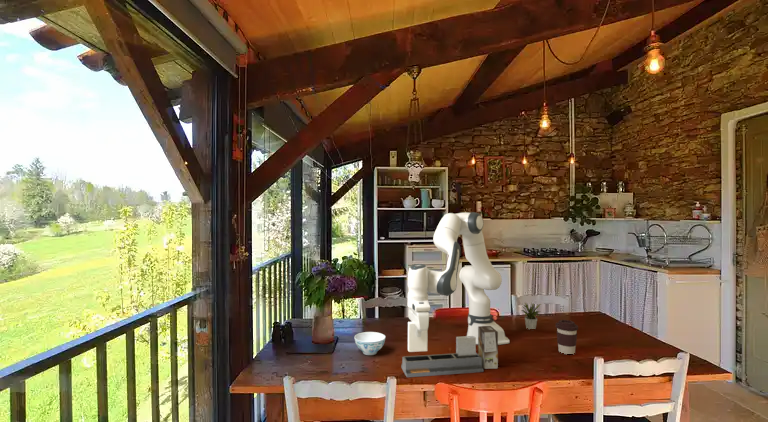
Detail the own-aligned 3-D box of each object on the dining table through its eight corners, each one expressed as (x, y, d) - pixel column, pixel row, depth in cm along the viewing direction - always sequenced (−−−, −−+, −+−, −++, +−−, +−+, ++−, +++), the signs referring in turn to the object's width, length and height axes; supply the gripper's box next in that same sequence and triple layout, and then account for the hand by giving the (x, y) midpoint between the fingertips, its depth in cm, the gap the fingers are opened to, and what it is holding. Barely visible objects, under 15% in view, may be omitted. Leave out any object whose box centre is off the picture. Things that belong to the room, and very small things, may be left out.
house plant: (513, 329, 222) (513, 301, 222) (518, 323, 233) (518, 297, 233) (539, 333, 214) (539, 304, 214) (543, 327, 226) (543, 299, 226)
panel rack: (473, 362, 171) (474, 332, 171) (483, 371, 161) (483, 340, 161) (401, 367, 165) (401, 336, 166) (406, 377, 156) (406, 344, 156)
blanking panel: (409, 352, 160) (409, 323, 160) (407, 349, 162) (407, 321, 162) (427, 351, 161) (427, 322, 161) (425, 348, 164) (425, 321, 164)
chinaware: (386, 358, 176) (386, 341, 176) (354, 359, 175) (354, 342, 175) (384, 346, 191) (384, 331, 191) (354, 347, 190) (354, 332, 190)
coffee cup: (576, 350, 188) (576, 320, 188) (579, 357, 178) (579, 325, 179) (554, 347, 191) (554, 318, 191) (556, 354, 182) (556, 323, 182)
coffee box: (498, 368, 165) (498, 331, 165) (484, 369, 164) (484, 332, 164) (490, 360, 174) (490, 325, 174) (477, 361, 173) (477, 325, 174)
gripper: (405, 297, 172) (404, 328, 171) (416, 308, 151) (416, 343, 151) (418, 297, 173) (418, 327, 172) (431, 308, 152) (431, 342, 152)
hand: (417, 334), depth 162 cm, fingers closed on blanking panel, 2 cm apart
